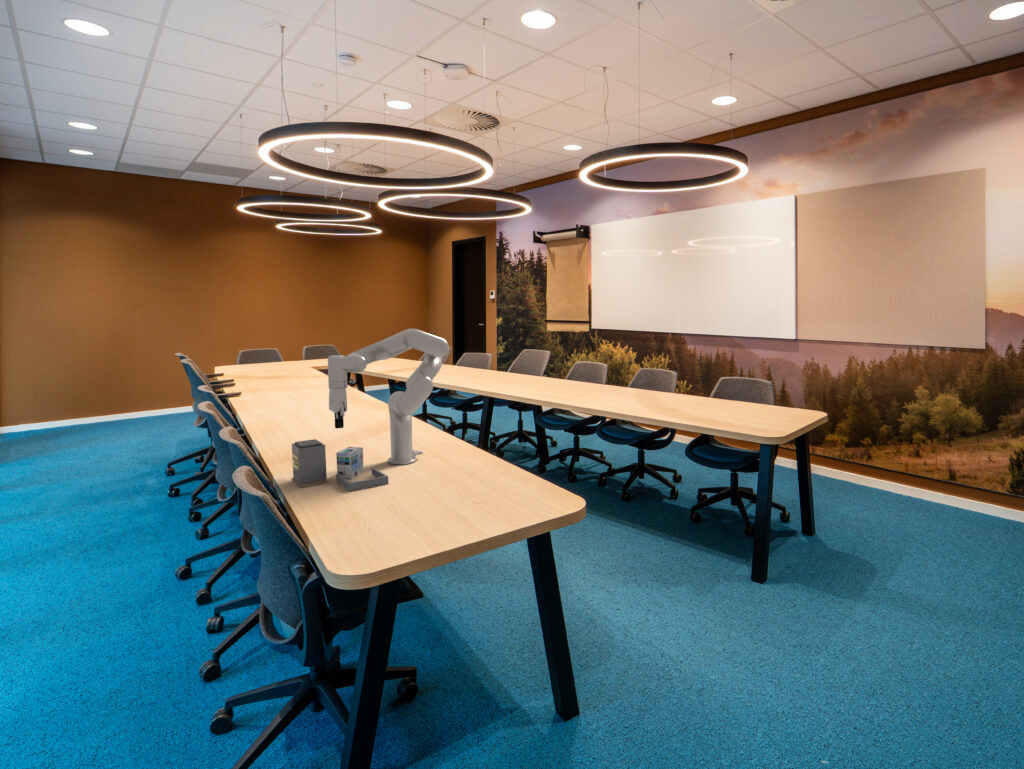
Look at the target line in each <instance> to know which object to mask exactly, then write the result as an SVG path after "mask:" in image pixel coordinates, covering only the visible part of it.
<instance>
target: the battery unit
mask: <svg viewBox="0 0 1024 769" xmlns="http://www.w3.org/2000/svg"><path fill="white" fill-rule="evenodd" d="M326 455H327V454H326V444H324V443H323V442H321V441H319V440H317V439H316V438H314V439H306V440H300V441H294V443H291V458H292V476H293V477H290V478H291V481H292V482H293V483H294V485H296V486H297V487H298V488H299V489H302V488H308V486H309V487H314V486H318V485H324V483H325V484H329V483H330V480H329V479H328V477H327V474H328V473H327V459H326V458H327V457H326Z"/></svg>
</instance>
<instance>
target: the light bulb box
mask: <svg viewBox="0 0 1024 769" xmlns="http://www.w3.org/2000/svg"><path fill="white" fill-rule="evenodd" d="M335 455H336V474H339V475H340V476H341V477H343V478H348V479H347V480H353V479H354V477H355V478H356V477H358V476H360V475H362V474H363V473H364V470H365V469H364V448H363V447H361V446H360V447H359V446H347V447H346V448H343V449H341V450H339V451H337V452H336V454H335ZM362 472H363V473H362ZM359 474H360V475H359ZM357 475H358V476H357ZM352 478H353V479H352Z"/></svg>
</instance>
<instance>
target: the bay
mask: <svg viewBox="0 0 1024 769" xmlns="http://www.w3.org/2000/svg"><path fill="white" fill-rule="evenodd" d="M371 476H372V478H369V479H363V480H357V481H352V482H349V480H348V479H344V478H343V477H341V476H340V475H339V474H337V473H336V474H335V482H336V483H337V482H338V483H339V485H340V486H341V485H342V486H343V487H342V486H341V487H342V488H344V489H345V488H346V489H347V490H346V489H345V490H346V491H347V492H353V491H352V490H354V491H358V489H359V490H363V489H362V488H364V489H368V488H367V487H370V488H373V487H372V486H375V487H378V485H380V486H384V485H383V484H385V485H388V484H389V476H388V475H387V474H385V473H384V472H382V471H380V470H378V469H377V468H375V467H371ZM374 476H375V477H374ZM373 477H374V478H373ZM338 483H337V484H338Z"/></svg>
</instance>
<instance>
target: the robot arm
mask: <svg viewBox="0 0 1024 769" xmlns="http://www.w3.org/2000/svg"><path fill="white" fill-rule="evenodd" d="M412 349H414V350H417V351H419V352H422V353H424V358H423V361H422V362H421V363H420V365H419V366H418V367H417V368H416V369H415V370H414V371H413V372H412V374H411V375H409V377H408V378H407V380H406V382H405V387H406V389H405V391H401V390H399V391H398V390H397V391H394V392H393V393H391V394H390V396H389V398H388V404H387V405H388V406H387V407H388V412H389V421H390V422H389V424H390V425H389V429H390V431H389V433H390V457H388V458H387V463H388V464H391V465H409V464H413V463H415V462H416V461H417V456H420V455H423V454H424V452H423V450H422V449H420V450H414V449H413V420H412V415H413V414H415V413H416V412H417V411H418V409H419V408H420V407H421V406H422V405H423V404H424V402H426V400H427V399H428V398H429V397H430V395H431V394H432V391H433V389H434V382H433V380H434V378H435V377H436V376H437V375H438V373H439V372H440V370H441V368H442V365H443V357H444V356H446V355H447V354H448V353H449V350H450V346H449V343H448V342H447V340H446V339H445V338H442V337H440V336H438V335H434V334H431V333H428V332H425V331H423V330H420V329H418V328H408V329H407V328H406V329H404V330H402V331H400V332H397V333H395V334H394V335H391V336H388V337H386V338H384V339H382V340H380V341H377V342H375V343H372V344H370V345H367V346H364V347H362V348H360V349H357V350H355V351H353V352H351V353H349V354H347V355H341V354H339V355H337V354H334V355H333V354H332V355H329V356H328V357H327V375H328V376H327V377H328V379H327V380H328V390H329V392H328V410H330V412H333V416H334V428H335V429H344V425H345V424H344V417H345V414H346V412H347V411H348V395H347V389H348V373H355V374H358V373H362V372H364V371H365V370H366V369H367V366H368V365H369V364H372V363H375V362H378V361H384V360H389V359H393V358H395V357H397V356H398V355H400V354H403V353H406V352H407V351H409V350H412Z"/></svg>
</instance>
